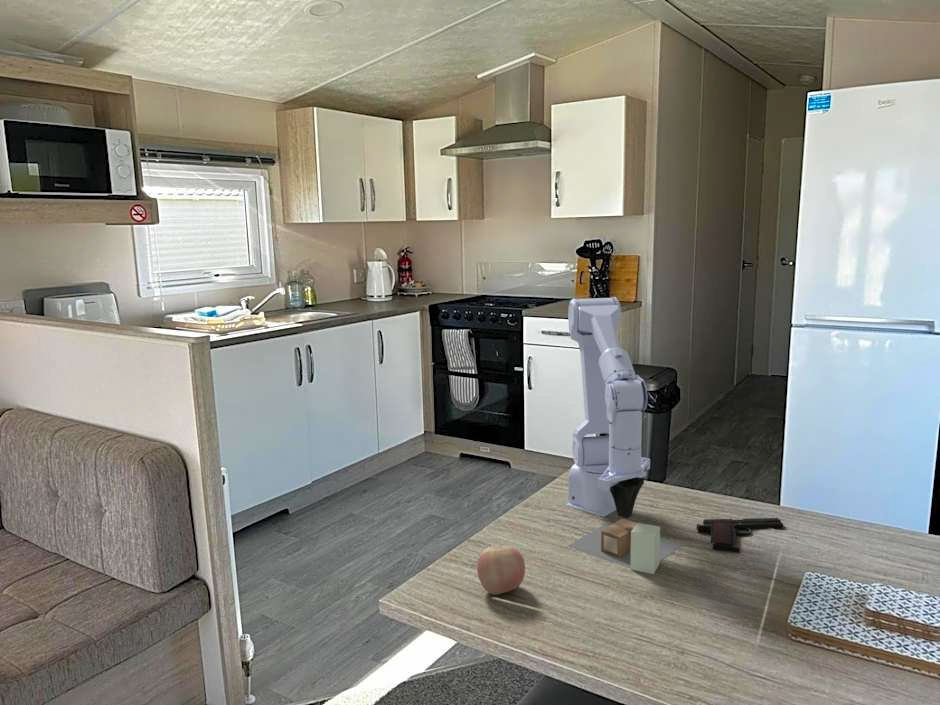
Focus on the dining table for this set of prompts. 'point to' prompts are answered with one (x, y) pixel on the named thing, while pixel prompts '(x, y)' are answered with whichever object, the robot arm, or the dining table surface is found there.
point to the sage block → (645, 548)
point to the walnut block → (617, 538)
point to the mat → (593, 546)
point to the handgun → (734, 530)
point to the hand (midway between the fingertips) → (624, 515)
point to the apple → (500, 569)
